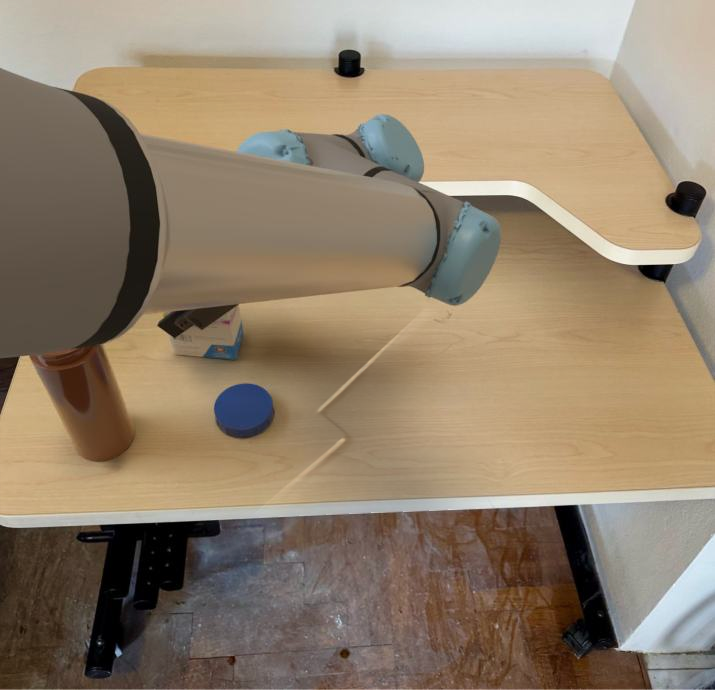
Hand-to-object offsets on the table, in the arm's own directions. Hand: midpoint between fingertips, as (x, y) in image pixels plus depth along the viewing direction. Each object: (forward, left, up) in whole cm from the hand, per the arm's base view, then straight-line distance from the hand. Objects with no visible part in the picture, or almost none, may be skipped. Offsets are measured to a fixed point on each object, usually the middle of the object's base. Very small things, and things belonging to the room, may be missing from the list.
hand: (175, 313), depth 85 cm
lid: (-2, -15, -4) cm, 16 cm away
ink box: (+2, -3, -6) cm, 7 cm away
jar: (-15, -6, -5) cm, 17 cm away
